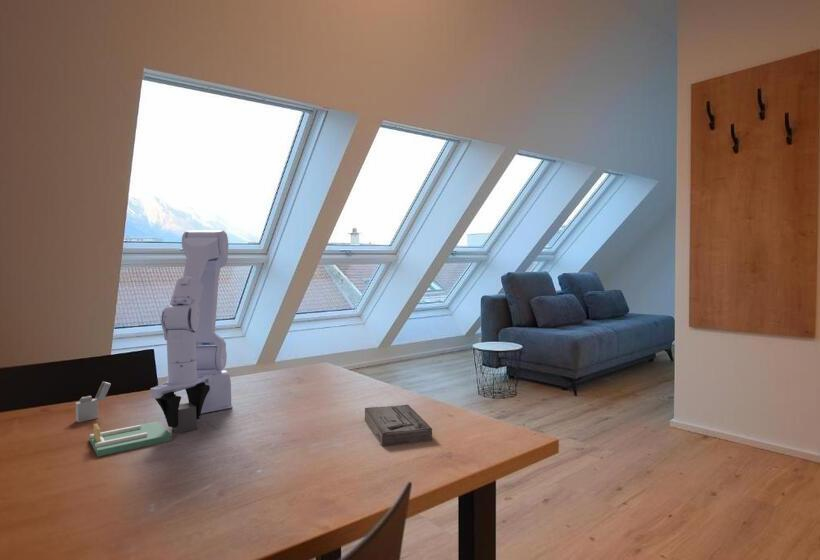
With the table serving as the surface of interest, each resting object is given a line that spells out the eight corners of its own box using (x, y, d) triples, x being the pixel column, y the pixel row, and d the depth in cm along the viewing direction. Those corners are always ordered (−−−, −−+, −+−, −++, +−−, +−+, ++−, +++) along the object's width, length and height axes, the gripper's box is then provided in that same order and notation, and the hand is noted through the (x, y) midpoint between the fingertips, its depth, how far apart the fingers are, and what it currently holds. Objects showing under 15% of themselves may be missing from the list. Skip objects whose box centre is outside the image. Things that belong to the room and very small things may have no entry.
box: (408, 416, 120) (408, 403, 120) (433, 442, 104) (433, 427, 104) (363, 420, 117) (363, 407, 117) (381, 448, 101) (381, 432, 101)
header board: (158, 426, 114) (157, 407, 114) (171, 440, 105) (170, 420, 105) (89, 440, 106) (88, 420, 106) (97, 456, 97) (96, 434, 97)
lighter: (78, 422, 117) (77, 387, 117) (75, 420, 118) (74, 386, 118) (112, 414, 123) (111, 381, 122) (109, 413, 124) (108, 380, 123)
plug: (191, 424, 115) (190, 402, 115) (196, 429, 112) (196, 406, 112) (172, 428, 112) (171, 405, 112) (177, 433, 109) (176, 409, 109)
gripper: (195, 352, 120) (197, 410, 120) (139, 365, 106) (141, 430, 107) (218, 355, 117) (220, 414, 117) (163, 368, 103) (165, 435, 104)
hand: (184, 422), depth 112 cm, fingers closed on plug, 5 cm apart
